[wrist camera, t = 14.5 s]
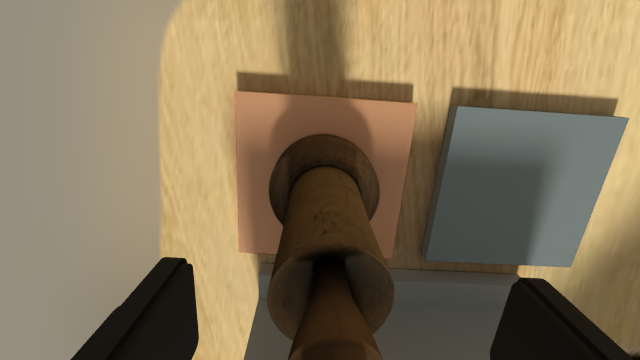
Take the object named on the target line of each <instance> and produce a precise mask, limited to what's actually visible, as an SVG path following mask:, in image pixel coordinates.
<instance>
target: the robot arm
mask: <svg viewBox="0 0 640 360" xmlns="http://www.w3.org/2000/svg"><path fill="white" fill-rule="evenodd" d="M198 339H199V334H198V322H197V310H196V298H195V286H194V275H193V266H192V264H187V261H186V259H185V258H172V257H164V258H162V259H161V260H160V261H159V262H158V263H157V264H156V266H155V267H154V268H153V269H152V270H151V271H150V273H149V274H148V275H147V276H146V277H145V278H144V279H143V281H142V282H141V283H140V284H139V285H138V286H137V288H136V289H135V290H134V291H133V292H132V293H131V294H130V295H129V297H128V298H127V299H126V300H125V302H123V304H122V305H121V306H119V307H118V308H116V309H115V310H114V311H113V312H112V313H111V314H110V315H109V317H108V318H107V319H106V320H105V321H104V322H103V323H102V325H101V326H100V327H99V328H98V329H97V330H96V331H95V333H94V334H93V335H92V336H91V337H90V338H89V339H88V340H87V342H86V343H85V344H84V345H83V346H82V347H81V349H80V350H79V351H78V352H77V353H76V354H75V355H74V357H73V358H72V359H71V360H191V359H192V357H193V355H194V353H195V351H196V348H197V345H198ZM490 360H634V359H632V358H631V357H630V356H629V355H628V354H627V353H626V352H625V351H624V350H623V349H621V348H620V347H619V346H618V345H617V344H616V343H615V342H614V341H613V340H611V339H610V338H609V337H608V336H607V335H606V334H605V333H604V332H603V331H601V330H600V329H599V328H598V327H597V326H596V325H595V324H594V323H593V322H592V321H590V320H589V319H588V318H587V317H586V316H585V315H584V314H583V313H582V312H580V311H579V310H578V309H577V308H576V307H575V306H574V305H573V304H572V303H570V302H569V301H568V300H567V299H566V298H565V297H564V296H563V295H562V294H561V293H559V292H558V291H557V290H556V289H555V288H554V287H553V286H552V285H551V284H549V283H548V282H547V281H546V280H544V279H539V278H520V279H518V280H517V282H516V283H514V284H512V286H511V289H510V292H509V295H508V298H507V301H506V304H505V307H504V310H503V313H502V316H501V319H500V322H499V325H498V328H497V331H496V334H495V337H494V340H493V343H492V346H491V349H490Z"/></svg>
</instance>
